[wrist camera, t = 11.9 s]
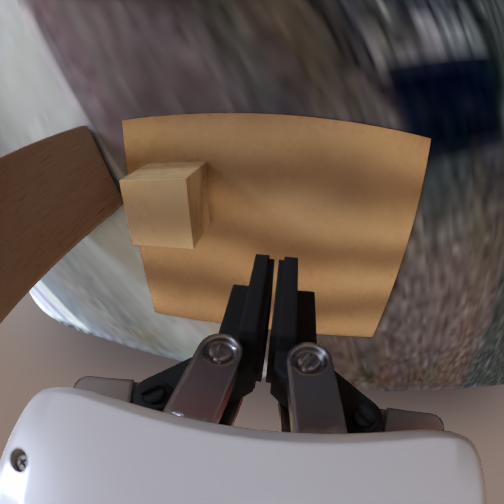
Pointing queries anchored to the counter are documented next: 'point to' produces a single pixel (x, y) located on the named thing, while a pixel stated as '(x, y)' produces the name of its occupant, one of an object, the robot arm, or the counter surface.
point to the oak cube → (167, 204)
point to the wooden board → (286, 210)
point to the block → (49, 207)
